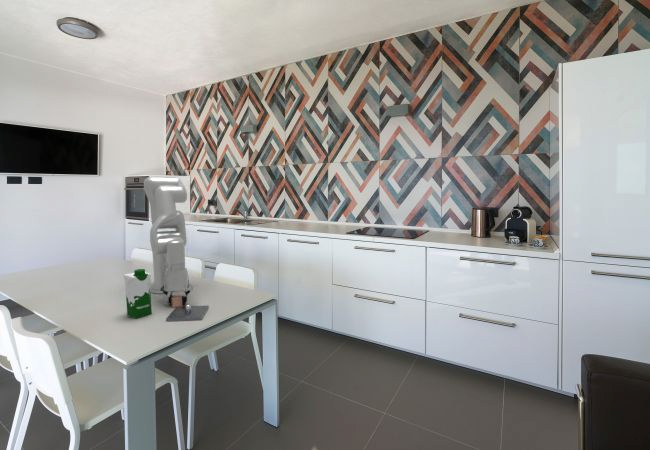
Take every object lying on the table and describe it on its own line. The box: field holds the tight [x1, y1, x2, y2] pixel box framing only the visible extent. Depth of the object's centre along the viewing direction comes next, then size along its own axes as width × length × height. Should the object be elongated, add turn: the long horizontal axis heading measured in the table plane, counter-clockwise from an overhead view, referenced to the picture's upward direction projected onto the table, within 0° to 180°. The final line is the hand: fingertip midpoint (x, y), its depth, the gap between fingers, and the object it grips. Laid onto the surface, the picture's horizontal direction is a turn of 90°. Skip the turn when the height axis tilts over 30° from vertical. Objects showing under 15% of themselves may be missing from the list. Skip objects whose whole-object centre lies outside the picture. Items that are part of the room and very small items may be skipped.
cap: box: [171, 294, 184, 308], centre depth 156 cm, size 5×5×4 cm
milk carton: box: [123, 268, 153, 320], centre depth 144 cm, size 9×9×20 cm
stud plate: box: [165, 303, 210, 322], centre depth 145 cm, size 14×14×4 cm
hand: (177, 303), depth 156 cm, fingers closed on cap, 5 cm apart
